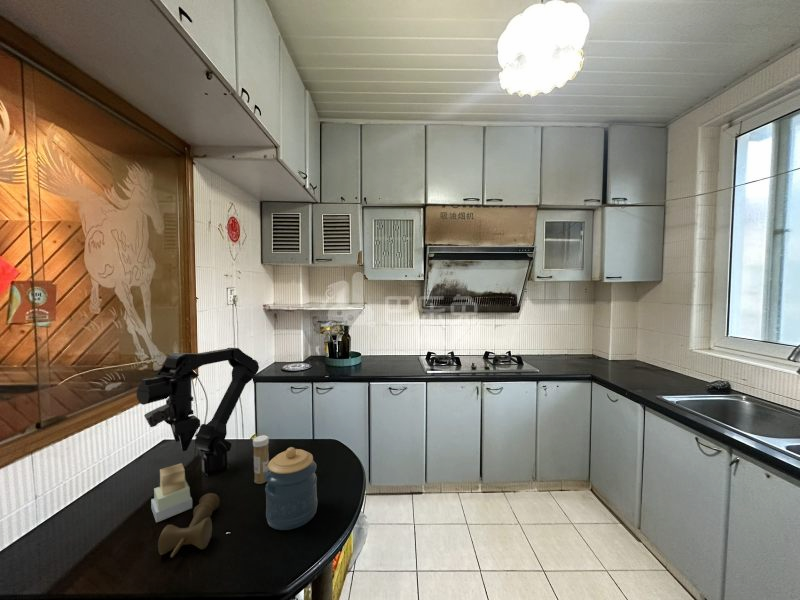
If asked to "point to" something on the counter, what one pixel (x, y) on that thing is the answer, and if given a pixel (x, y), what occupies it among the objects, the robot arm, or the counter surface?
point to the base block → (170, 509)
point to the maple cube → (172, 478)
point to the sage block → (171, 497)
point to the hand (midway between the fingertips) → (180, 446)
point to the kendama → (191, 528)
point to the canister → (290, 489)
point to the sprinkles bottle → (260, 458)
